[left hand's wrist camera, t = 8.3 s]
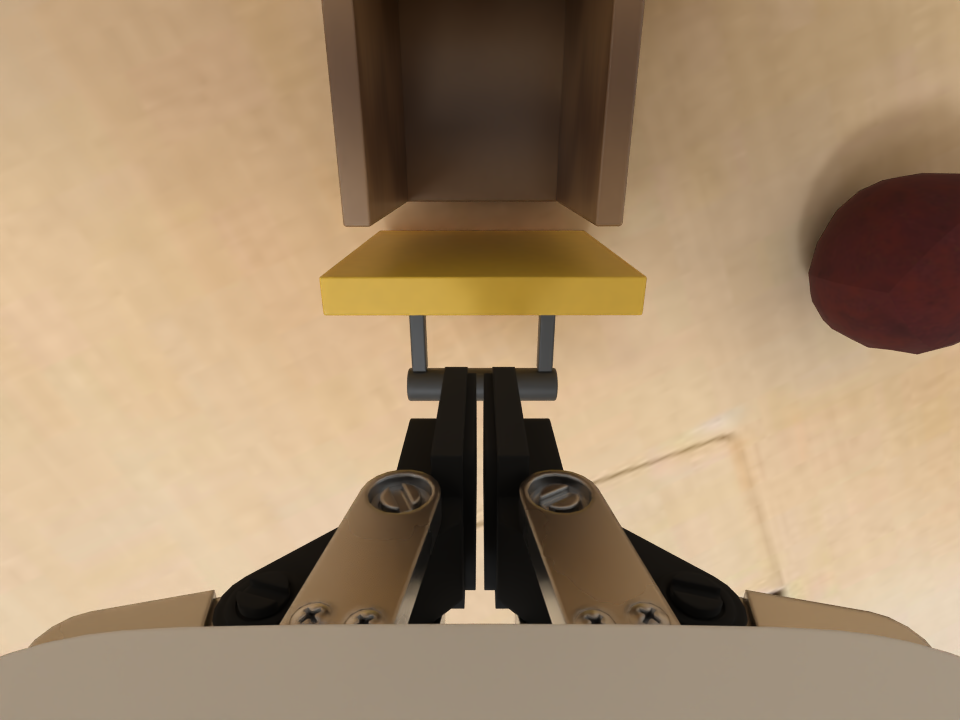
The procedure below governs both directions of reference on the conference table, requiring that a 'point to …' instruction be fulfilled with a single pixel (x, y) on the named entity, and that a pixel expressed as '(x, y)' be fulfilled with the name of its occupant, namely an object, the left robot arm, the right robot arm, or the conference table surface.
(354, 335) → the conference table surface
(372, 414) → the conference table surface
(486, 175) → the drawer
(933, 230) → the potato
